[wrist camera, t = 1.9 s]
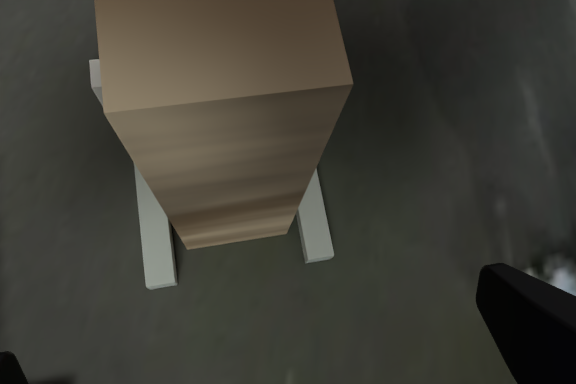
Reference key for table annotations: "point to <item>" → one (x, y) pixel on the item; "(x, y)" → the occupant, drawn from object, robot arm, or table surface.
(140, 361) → the table surface
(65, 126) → the table surface
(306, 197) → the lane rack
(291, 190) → the maple block
